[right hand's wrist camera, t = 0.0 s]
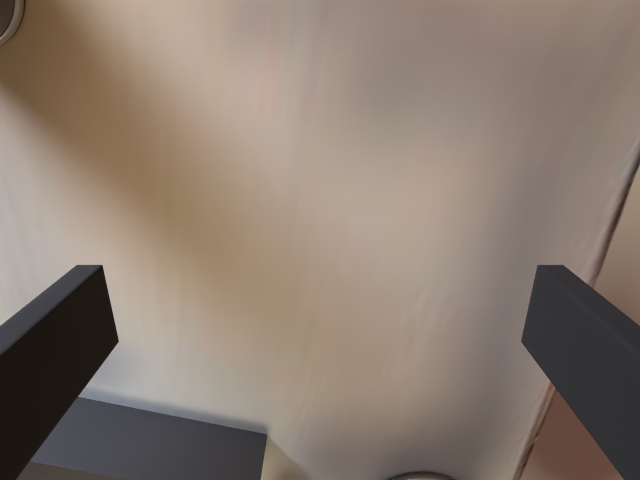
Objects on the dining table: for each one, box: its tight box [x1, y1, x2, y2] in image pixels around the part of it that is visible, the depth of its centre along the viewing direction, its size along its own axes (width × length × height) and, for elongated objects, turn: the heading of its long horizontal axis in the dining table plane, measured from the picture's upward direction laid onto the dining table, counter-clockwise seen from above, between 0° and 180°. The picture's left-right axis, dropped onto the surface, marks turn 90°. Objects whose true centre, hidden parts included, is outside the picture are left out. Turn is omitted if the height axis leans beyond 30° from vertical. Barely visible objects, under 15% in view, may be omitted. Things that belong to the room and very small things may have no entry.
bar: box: [16, 397, 267, 480], centre depth 47 cm, size 26×4×9 cm, turn 75°
